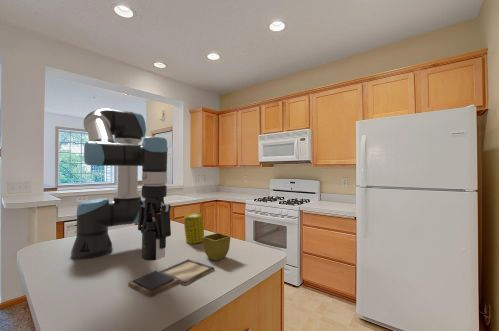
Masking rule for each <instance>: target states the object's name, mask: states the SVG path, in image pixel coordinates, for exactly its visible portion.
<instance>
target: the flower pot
mask: <svg viewBox="0 0 499 331" xmlns="http://www.w3.org/2000/svg"><path fill="white" fill-rule="evenodd" d="M202 239H203V242H202V245H203V246H202V247H203V250H204V253H205V255H206V256H207V258H209V259H210V260H213V261H218V260H221V259H225V257H226V256H227V255H228V253H229V251H230V245H231V235H227V234H223V233H219V232H216V233H211V234H208V235H204V237H202Z"/></svg>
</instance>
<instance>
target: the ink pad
mask: <svg viewBox="0 0 499 331" xmlns="http://www.w3.org/2000/svg"><path fill="white" fill-rule="evenodd" d="M173 280H174V278H172V277H169V276H167V275H164V274H162V273H159V271H158V272H157V270H155V271H151V272H149V273H146V274H144V275H143V276H139V277H137V278H135V279H133V280H132V281H133V282H134V283H136V284H138V285H140V286H142V287H144V288H147V289H149V290H151V291H153V290H155V289H157V288H159V287H161V286H163V285H165V284H167V283H169V282H171V281H173Z"/></svg>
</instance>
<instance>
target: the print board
mask: <svg viewBox="0 0 499 331" xmlns="http://www.w3.org/2000/svg"><path fill="white" fill-rule="evenodd" d="M214 270H215V268H214V266H210V265H207V264H204V263H202V262H199V261H195V260H191V259H189V258H188V259H186V260H183V261H181V262H178V263H176V264H174V265H172V266H169V267H167V268H164V269H162V270H159V271H158V272H160V273H163V274H165V275H168V276H170V277H173V278H175V279H178V283H177V284H179V285H183V286H186V285H188V284H190V283H192V282H194V281H196V280H198V279H200V278H201V277H203V276H206V275H207V274H209V273H211V272H212V271H214Z"/></svg>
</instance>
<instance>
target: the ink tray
mask: <svg viewBox="0 0 499 331" xmlns="http://www.w3.org/2000/svg"><path fill="white" fill-rule="evenodd" d="M156 271H157V270H156ZM157 272H159V271H157ZM159 273H160V272H159ZM162 274H163V273H162ZM164 275H165V274H164ZM167 276H168V275H167ZM169 277H170V276H169ZM172 278H173V277H172ZM127 284H128V286H129V287H131V288H132V289H135V290H137V291H139V292H141V293H142V294H144V295H146V296H148V297H150V298H152V297H154V296H155V295H158V294H160V293H161V292H163V291H165V290H167V289H170V288H171V287H174V286H175V285H177V284H179V283H178V279H175V278H174V280H173V281H171V282H169V283H167V284H165V285H163V286H161V287H159V288H157V289H155V290H153V291H151V290H149V289H147V288H144V287H142V286H140V285H138V284H136V283H134V282H133V280H131V281H128V283H127Z"/></svg>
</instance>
